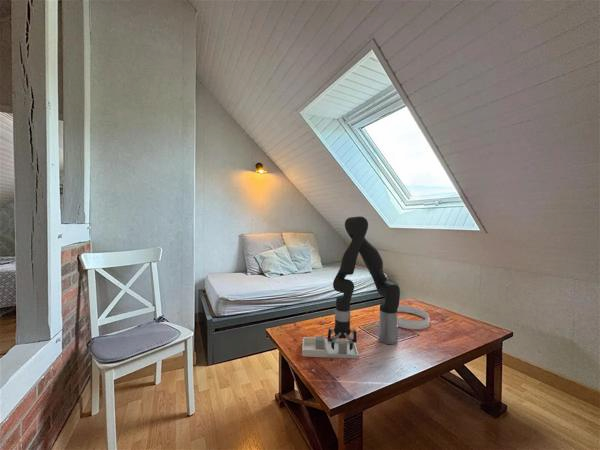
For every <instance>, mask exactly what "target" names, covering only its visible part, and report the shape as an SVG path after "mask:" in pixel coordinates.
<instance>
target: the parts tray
mask: <svg viewBox="0 0 600 450" xmlns="http://www.w3.org/2000/svg"><path fill="white" fill-rule="evenodd" d="M338 340H339V339H337V340H335V341H334V350H333V348H331V341H328V338H326V342H327V357H326V358H338V359H339V358H341V359H342V358H343V359H360V354H359V350H358V349H357V345H356V343H355V342H354V343H353V349H351V350H350V349H349V343H350V341H349V340H348V339H345V340H346V342H347V354H338Z"/></svg>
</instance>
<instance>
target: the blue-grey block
mask: <svg viewBox="0 0 600 450" xmlns="http://www.w3.org/2000/svg"><path fill="white" fill-rule="evenodd" d="M315 337H316V349H318V350H324V339H323V338H324V336H322V335H321V336H318V335H317V336H315Z"/></svg>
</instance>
